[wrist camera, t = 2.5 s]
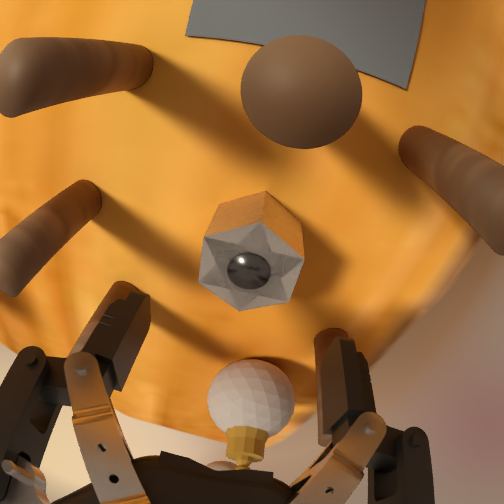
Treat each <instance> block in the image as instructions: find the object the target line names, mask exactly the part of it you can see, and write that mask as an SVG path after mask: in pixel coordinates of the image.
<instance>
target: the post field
mask: <svg viewBox="0 0 504 504" xmlns="http://www.w3.org/2000/svg"><path fill="white" fill-rule="evenodd" d="M152 69H153V58H152V55H151V53H150V52H149V51H148V49H146V48H145V47H143V46H141V45H136V44H129V43H122V42H114V41H105V40H95V39H82V38H59V37H35V38H19V39H16V40H14V41H12V42H11V43H9V44H8V45H7V46H6V47H5V48H4V50H3V51H2V53H1V54H0V113H1V114H2V115H4V116H6V117H9V118H12V117H16V116H19V115H22V114H26V113H29V112H32V111H35V110H39V109H42V108H46V107H49V106H53V105H57V104H60V103H64V102H68V101H73V100H77V99H81V98H86V97H91V96H96V95H101V94H107V93H112V92H118V91H125V90H132V89H136V88H138V87H140V86H142V85H143V84H144V83H145V82H146V81H147V80H148V78H149V77H150V75H151V73H152ZM241 98H242V103H243V106H244V109H245V112H246V114H247V116H248V117H249V119H250V121H251V122H252V123H253V125H254V126H255V127H256V128H257V129H258V130H259V131H260V132H261V133H262V134H263V135H265V136H266V137H267V138H269V139H271V140H272V141H274V142H276V143H278V144H281V145H284V146H287V147H291V148H298V149H311V148H317V147H321V146H324V145H327V144H329V143H332V142H334V141H335V140H337V139H339V138H340V137H341V136H342V135H344V134H345V133H346V132H347V131H348V130H349V129H350V128H351V126H352V125H353V123H354V122H355V120H356V118H357V116H358V114H359V111H360V108H361V103H362V86H361V82H360V78H359V75H358V72H357V71H356V69H355V67H354V65H353V64H352V62H351V61H350V59H349V58H348V57H347V56H346V55H345V54H344V53H343V52H342V51H341V50H340V49H338V48H337V47H336V46H334V45H332V44H331V43H329V42H327V41H325V40H322V39H319V38H316V37H312V36H305V35H292V36H286V37H282V38H279V39H276V40H273V41H271V42H269V43H268V44H266V45H264V46H263V47H262V48H260V49H259V50H258V51H257V52H256V53H255V54H254V55H253V56H252V58H251V59H250V61H249V62H248V64H247V66H246V68H245V70H244V73H243V76H242V81H241ZM399 156H400V159H401V161H402V162H403V164H404V165H405V166H406V167H407V168H408V169H410V170H411V171H412V172H413V173H414V174H416V175H417V176H418V177H419V178H420V179H422V180H423V181H424V182H425V183H426V184H427V185H428V186H430V187H431V188H432V189H433V190H434V191H435V192H436V193H437V194H438V195H440V196H441V197H442V198H443V199H444V200H445V201H446V202H447V203H448V204H449V205H450V206H451V207H452V208H453V209H454V210H455V211H457V212H458V213H459V214H460V215H461V216H462V217H463V218H464V219H465V220H466V221H467V222H468V223H469V225H470V226H471V227H472V228H473V229H474V230H475V231H476V232H477V233H478V234H479V235H480V236H481V237H482V238H483V239H484V240H485V242H486V243H487V244H488V245H489V246H490V247H491V248H492V249H493V251H494V252H496V253H497V254H499V255H504V166H503V165H501V164H499V163H498V162H496V161H494V160H492V159H491V158H489V157H487V156H485V155H483V154H482V153H480V152H478V151H476V150H474V149H472V148H470V147H468V146H466V145H464V144H462V143H460V142H458V141H456V140H454V139H452V138H450V137H447V136H445V135H443V134H441V133H439V132H436V131H434V130H432V129H429V128H427V127H424V126H413V127H411V128H409V129H408V130H406V131H405V132H404V134H403V135H402V137H401V139H400V142H399ZM101 206H102V198H101V194H100V192H99V190H98V188H97V187H96V186H95V185H94V184H93V183H92V182H90V181H88V180H79V181H77V182H75V183H74V184H72V185H71V186H69V187H68V188H66V189H65V190H63V191H62V192H61V193H59V194H58V195H56V196H55V197H53V198H52V199H51V200H49V201H48V202H46V203H45V204H44V205H42V206H41V207H40V208H38V209H37V210H36V211H34V212H33V213H32V214H30V215H29V216H28V217H27V218H25V219H24V220H23V221H22V222H20V223H19V224H18V225H17V226H15V227H14V228H13V229H12V230H11V231H9V232H8V233H7V234H6V235H5V236H3V237H2V238H1V239H0V290H1V291H2V292H4V293H5V294H6V295H8V296H11V297H16V296H17V295H18V294H19V293H20V292H21V291H22V290H23V288H24V287H25V286H26V285H27V284H28V283H29V282H30V281H31V279H32V278H33V277H34V276H35V275H36V274H37V273H38V272H39V271H40V270H41V268H42V267H43V266H44V265H45V264H46V263H47V262H48V261H49V260H50V259H51V258H52V257H53V256H54V255H55V254H56V253H57V252H58V251H59V250H60V249H61V248H62V247H63V246H64V245H65V244H66V243H67V242H68V241H69V240H70V239H71V238H72V237H73V236H74V235H75V234H76V233H77V232H78V231H79V230H80V229H81V228H82V227H83V226H84V225H86V224H87V223H88V222H89V221H90V220H91V219H92V218H93V217H94V216H95V215H96V214H98V213H99V211H100V209H101ZM132 290H134V291H138V289H137V288H136V287H134V286H133V285H132V284H130V283H128V282H125V281H117V282H115V283H114V284H113V285H112V287H111V288H110V290H109V291H108V293H107V294H106V296H105V297H104V299H103V300H102V302H101V303H100V305H99V306H98V308H97V310H96V311H95V313H94V314H93V316H92V317H91V319H90V321H89V322H88V324H87V325H86V327H85V329H84V330H83V332H82V333H81V335H80V337H79V338H78V340H77V342H76V343H75V345H74V347H73V348H72V350H71V352H70V354H69V355H68V357H69V356H70V355H71V354H73V353H76V352H80V351H81V350H82V349H83V347H84V345H85V344H86V342H87V340H88V339H89V337H90V335H91V334H92V332H93V330H94V329H95V327H96V326H97V324H98V323H99V321H100V319H101V318H102V316H103V315H104V313H105V311H106V310H107V308H108V307H109V305H110V304H112V303H113V302H115V301H116V300H117V299H122V300H126V298H127V297H128V295H129V294H130V292H131V291H132ZM138 292H139V291H138ZM336 337H342V338H348V336H347V333H346V332H345V331H343V330H341V329H336V328H331V329H326V330H323V331H321V332H320V333H318V334H317V335H316V337H315V339H314V347H315V364H316V384H317V410H318V444H319V445H321V446H323V447H326V446H327V445H328V444H329V443H330V442H331V441H332V435H327V434H323V416H322V393H321V374H320V367H321V362H322V359H323V357H324V355H325V354H326V352H327V350H328V349H329V347H330V345H331V344H332V342H333V340H334V339H335V338H336ZM68 357H67V358H68Z"/></svg>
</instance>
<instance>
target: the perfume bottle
mask: <svg viewBox="0 0 504 504" xmlns="http://www.w3.org/2000/svg"><path fill="white" fill-rule="evenodd" d="M207 405H208V409H209V412H210V416H211V418H212V419H213V421H214V422H215V424H216V425H217V427H218V428H220V429H221V430H222V431H223V432H225V433H226V435H227V439H228V444H227V450H226V456H227V457H228V458H229V459H232V460H235V461H236V462H237V464H238V465H239V466H237V465H236V464H234V463H231V462H227V461H216V462H213V463H210V464H208V465H207V467H209V468H211V469H213V470H217V471H222V470H239V469H250V468H249V467H248V466H249V465H250V464H251V463H252V462H258V461H262V459H263V458H264V447H265V442H266V440H267V438H269V437H271V436H274V435H276V434H277V433H278V432H280V431H281V430H282V429H283V428H284V427H285V426H286V425H287V424H288V422H289V420H290V418H291V416H292V415H293V412H294V406H295V394H294V388H293V386H292V384H291V382H290V380H289V378H288V377H287V375H286V374H285V373H284V372H282V371H281V370H280V369H279V368H278V367H277V366H275V365H273V364H271V363H268V362H266V361H262V360H258V359H243V360H240V361H237V362H233V363H231V364H229V365H228V366H226V367H225V368H223V369H222V370H220V372H219V373H218V374H217V375H216V377H215V378H214V379H213V380H212V383H211V386H210V388H209V391H208V403H207Z"/></svg>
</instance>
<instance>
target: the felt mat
mask: <svg viewBox="0 0 504 504" xmlns="http://www.w3.org/2000/svg"><path fill="white" fill-rule="evenodd" d="M425 1H426V0H193V4H192V8H191V12H190V16H189V21H188V25H187V30H186V34H185V36H195V37H207V38H217V39H226V40H234V41H241V42H247V43H254V44H259V45H266V44H268V43H269V42H271V41H273V40H276V39H279V38H282V37H286V36H292V35H305V36H312V37H316V38H319V39H322V40H325V41H327V42H329V43H331V44H332V45H334V46H336V47H337V48H338V49H340V50H341V51H342V52H343V53H344V54H345V55H346V56H347V57H348V58H349V59H350V61H351V62H352V64H353V65H354V67H355V69H356V70H358V71H361V72H364V73H367V74H370V75H372V76H375V77H377V78H380V79H382V80H385V81H387V82H390V83H392V84H395V85H397V86H399V87H402V88H404V89H406V88H407V84H408V80H409V77H410V73H411V69H412V65H413V60H414V56H415V52H416V47H417V43H418V38H419V33H420V29H421V23H422V18H423V13H424V7H425Z"/></svg>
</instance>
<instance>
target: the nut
mask: <svg viewBox="0 0 504 504" xmlns="http://www.w3.org/2000/svg"><path fill="white" fill-rule="evenodd" d="M304 260H305V256H304V246H303V236H302V226H301V222H300V221H299V220H298V219H297V218H296V217H295V216H293V215H292V214H291V213H290V212H289V211H288V210H287V209H286V208H285V207H283V206H282V205H281V204H280V203H279V202H278V201H277V200H276V199H274V198H273V197H272V196H271V195H270V194H269V193H268V192H266V191H264V192H260V193H256V194H253V195H249V196H245V197H242V198H238V199H235V200H231V201H228V202H224V203H221V204H219V206H218V208H217V210H216V212H215V214H214V216H213V218H212V220H211V222H210V225H209V227H208V229H207V231H206V233H205V235H204V239H203V247H202V255H201V263H200V271H199V279H198V282H199V283H200V284H201V285H203V286H204V287H206V288H207V289H208V290H210V291H211V292H213V293H214V294H215V295H217V296H218V297H220V298H221V299H222V300H224V301H225V302H227V303H228V304H230V305H231V306H232V307H234V308H235V309H237V310H238V311H243V310H248V309H254V308H260V307H265V306H270V305H276V304H281V303H286V302H289V300H290V298H291V295H292V292H293V290H294V287H295V284H296V282H297V279H298V276H299V274H300V271H301V268H302V266H303V263H304Z"/></svg>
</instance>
